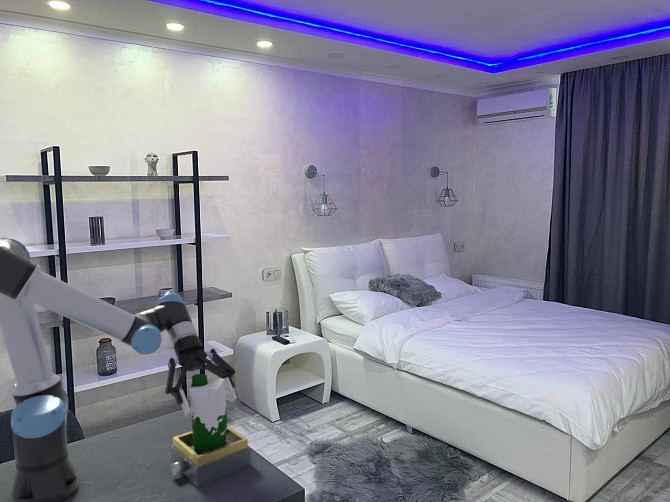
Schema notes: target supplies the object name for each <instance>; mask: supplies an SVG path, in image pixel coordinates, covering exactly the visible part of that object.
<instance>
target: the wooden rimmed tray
mask: <svg viewBox="0 0 670 502" xmlns="http://www.w3.org/2000/svg"><path fill="white" fill-rule="evenodd" d="M248 444H249V439H248V438H246V437H245V436H244V435H243V434H241V433H240V432H238V431H236V430H234V429H233V428H232V427H230V426H229V425H227V432H226V440H225V442H224V444H223V446H222V447H220V448H217V449H215V450H212V451H203V452H194V443H193V431H192V430H191V431H188V432H185V433H182V434H179V435H176V436H173V437H172V445H171V446H170V456H171V457H170V458H171V464H170V465H169V469H170V470H169V471H170V473H171V475H172V476H173V477H174V476H177V475H178V474H181V473H182V474H183V475H184V476H185V477H186V478H187V479H188V480H189V481H190V482H191V483H192V484H193V485H194V486H195V487H196V488H199V487H201V486H204V485H206V484H208V483H211V482H213V481H216V480H218V479H220V478H223V477H226V476H229V475H230V474H233V473H235V472H238V471H241V470H243V469H245V468H248V467H250V466H251V465H252V457H251V456H252V454H251V453H252V452H251V447H250V446H249V445H248Z"/></svg>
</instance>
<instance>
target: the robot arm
mask: <svg viewBox="0 0 670 502" xmlns="http://www.w3.org/2000/svg"><path fill="white" fill-rule="evenodd" d="M30 259H31V255H30V252H29V251H28V249H27V247H26V246H25V245H24V244H23V243H22V242H20V241H19V240H17V239H14V238H11V237H4V236H3V237H2V236H1V237H0V330H1V334H2V338H3V339H4V345H5V348H6V351H7V356H8V357H9V361H10V365H11V368H12V372H13V376H14V378H15V382H16V385H15V387H14V388H13V390H12V391H11V393H12V396H13V400H14V404H15V407H14V408H13V410H12V412H11V414H10V415H11V416H10V417H11V418H10V427H11V430H12V440H13V449H14V450H13V451H14V463H15V473H14V477H13V479H12V480H13V481H12V482H11V483H12V484H11V486H10V490H9V498H10V502H62V501H64V500H66V499H67V498H68V497H70V496H72V495H73V494H74V493H75V491H76V490H77V489H78V487H79V476H78V473H77V471H76V469H75V466H74V465H73V463H72V461H71V459H70V456H69V447H68V436H67V435H68V434H67V422H68V421H67V419H68V411H69V410H68V409H69V397H68V394H67V392H66V390H65V389H64V387H63V386H64V385H63V383H62V380H61V376H59V375H57V374H55V373H53V371H52V370H53V369H52V368H51V363H50V360H49V357H48V352H47V349H46V345H45V341H44V339H43V338H44V337H43V333H42V330H41V327H40V323H39V319H38V315H37V313H36V308H35V305H38V306H40V307H42V308H44V309H47V310H49V311H51V312H54V313H56V314H58V315H61V316H62V317H65V318H67V319H69V320H71V321H74V322H75V323H78V324H80V325H82V326H85V327H87V328H89V329H92V330H94V331H96V332H99V333H101V334H102V335H105V336H108V337H109V338H112V339H114V340H117V341H119V342H121V343H123V344H125V345H127V346H130V347H132V349H133V350H134V351H136V353H138V354H140V355H145V356H146V355H151V354H153V353H155V352H156V351H157V350H158V349H159V348H160V347H161V344H162V339H163V338H162V333H163V332H165V331H166V332H167V334H168V337H169V340H170V343H171V344H172V345H173V350H174V353H175V356H176V357H177V358H174V357H170V359H168V362H167V367H168V373H167V380H166V385H165V391H164V394H166V395H168V396H169V395H171V396H172V397H174V399H175V403H176V404H177V405H178V406H180V405H181V408H182V411H183V414H184V416H185V417H188V416H189V415H190V413H191V406H189V405H190V404H189V402H188V400H187V398H186V395H185V392H184V389H180V388H181V387H182V384H183V382H184V379H185V377H186V374H187V373H188V371H189V372H190V373H191V372H194V371H199V370H202V369H203V370H207V371H209V372H210V373H212V374H214V375H215V376H217V377H219V379H225V392H226V393H227V395H228V397H229V400H230V402H231V403H234V402H235V401H236V400H237V397H238V396H237V395H236V392H235V390H234V389H235V383H234V381H233V377H234V375H235V374H236V370H235V369H234V368H233V367H232V366H231V365H230V364H229V363H228V362H227V361H226V360H225V359H223V358H222V357H221V356H220V355H219V353H218V352H217V351H216V349H215V348H211V350H209V351H205V350H204V347H203V345H202V342H201V339H200V337H199V336H198V333H197V330H196V328H195V324H194V323H193V321H192V318H191V316H190V313H189V310H188V308H187V305H186V304H185V301H184V300H183V298H182V295H180V294H179V293H175V292H171V293H170V292H169V293H167V294H164V295H163V296H161V297H159V298H158V299H157V301H156V306H155V307H153V308H150V309H147V310H144V311H141V312H137V313H134V314H132V313H130V312H128V311H126V310H124V309H122V308H119V307H117V306H115V305H114V304H112V303H110V302H108V301H105V300H103V299H101V298H99V297H96V296H95V295H92V294H90V293H88V292H86V291H84V290H82V289H80V288H78V287H76V286H73V285H71V284H70V283H68V282H64V280H61V279H58V278H56V277H55V276H52V275H50V274H48V273H46V272H44V271H42V270H41V267H40V265H39V264H37V263H36V262H33V261H31V260H30ZM177 366H180V367H182V370H181V372H180V374H179V377H178V379H177V381H176V384H175V386H173V385H174V379H175V374H176V373H175V371H176V367H177Z"/></svg>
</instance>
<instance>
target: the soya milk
mask: <svg viewBox="0 0 670 502" xmlns="http://www.w3.org/2000/svg"><path fill="white" fill-rule="evenodd" d="M226 396H227V395H226V389H225V379H222V378H215V377H211V378H208V375H207V374H205V373H195V374H194V375H192V376H191V386H189V398H190V410H191V412H190V413H191V429H192V430H191V431H193V443H194V452H203V451H212V450H215V449H217V448H220V447H222V446H223V444H224V442H225V440H226V432H227V426H228V417H227V400H226V399H227V398H226Z"/></svg>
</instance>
